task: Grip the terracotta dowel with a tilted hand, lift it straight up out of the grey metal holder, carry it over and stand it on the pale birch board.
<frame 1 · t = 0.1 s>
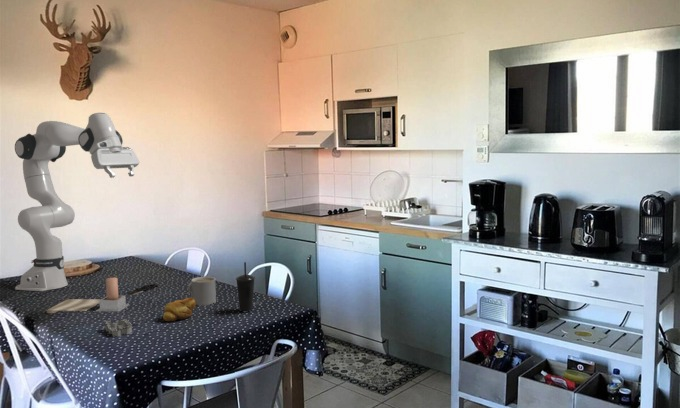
hand: (122, 176, 232), 54 cm above the table, tool tilted 30°, fingers open, 8 cm apart
board: (76, 307, 231), on the table
drinking cup: (246, 311, 225), on the table
coffee mug: (201, 301, 239), on the table
bread roll: (177, 318, 216), on the table
egg carton: (119, 332, 201), on the table
knife: (137, 293, 254), on the table
holder: (113, 309, 227), on the table
dowel: (113, 307, 227), point 1 cm above the table, touching holder
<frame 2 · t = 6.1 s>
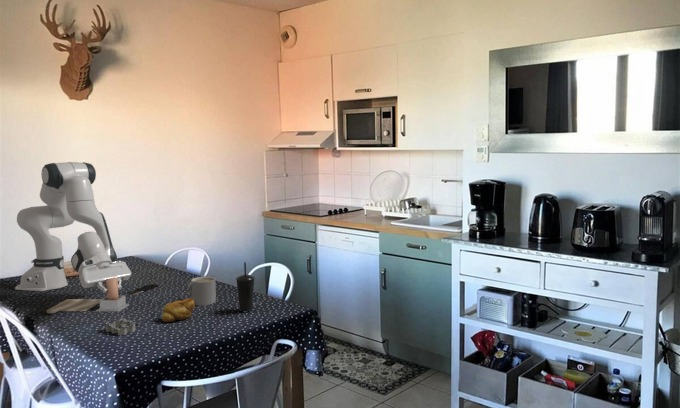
hand: (112, 290, 226), 8 cm above the table, tool tilted 45°, fingers closed on dowel, 4 cm apart
dowel: (113, 307, 227), point 1 cm above the table, touching gripper, holder
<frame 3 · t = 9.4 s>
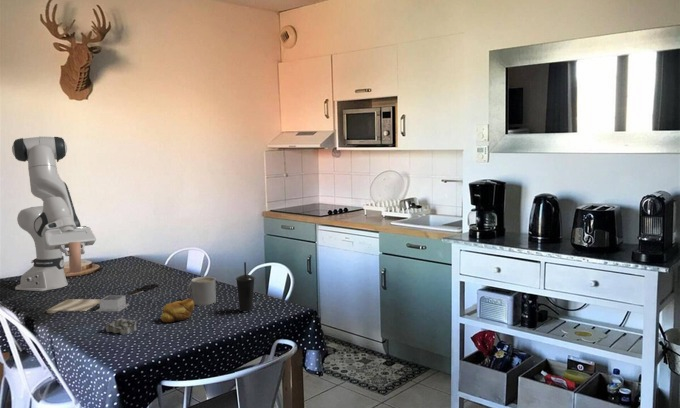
hand: (75, 254, 227), 23 cm above the table, tool tilted 45°, fingers closed on dowel, 4 cm apart
dowel: (75, 271, 228), point 16 cm above the table, touching gripper
when the fingers open (10 cm above the table, at t = 12.6 s): dowel drops 1 cm, resting on board.
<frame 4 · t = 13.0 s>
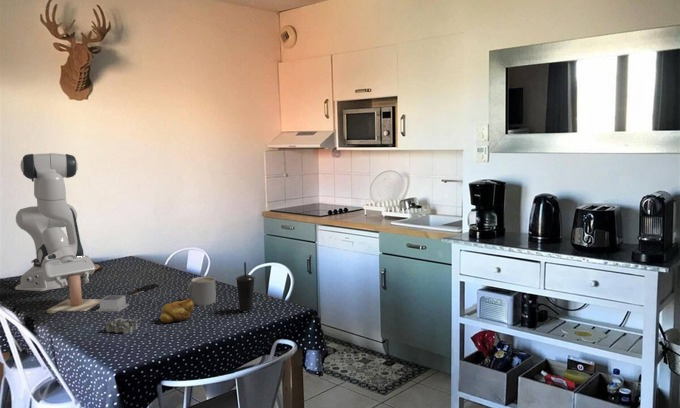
hand: (75, 284, 230), 10 cm above the table, tool tilted 45°, fingers open, 8 cm apart
dowel: (76, 304, 231), point 1 cm above the table, touching board
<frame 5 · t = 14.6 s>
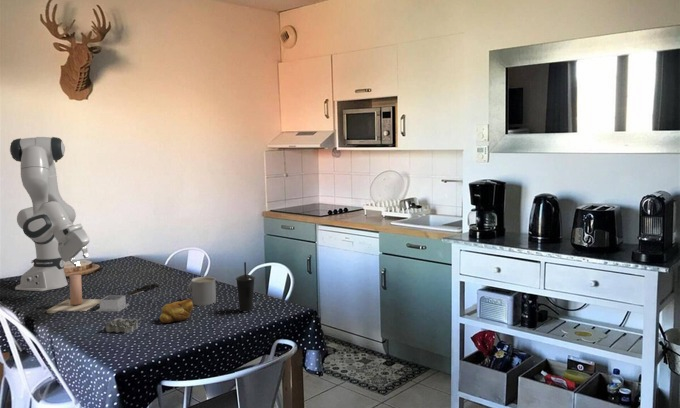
hand: (82, 261, 239), 17 cm above the table, tool tilted 35°, fingers open, 8 cm apart
dowel: (76, 303, 231), point 2 cm above the table, tilted 8°, touching board
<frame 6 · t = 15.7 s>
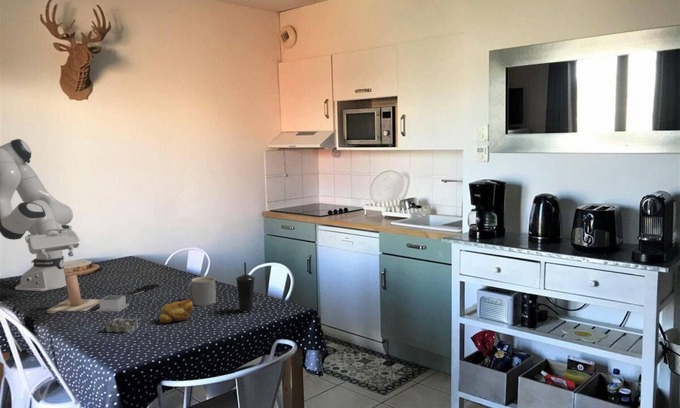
hand: (60, 257, 237), 20 cm above the table, tool tilted 45°, fingers open, 8 cm apart
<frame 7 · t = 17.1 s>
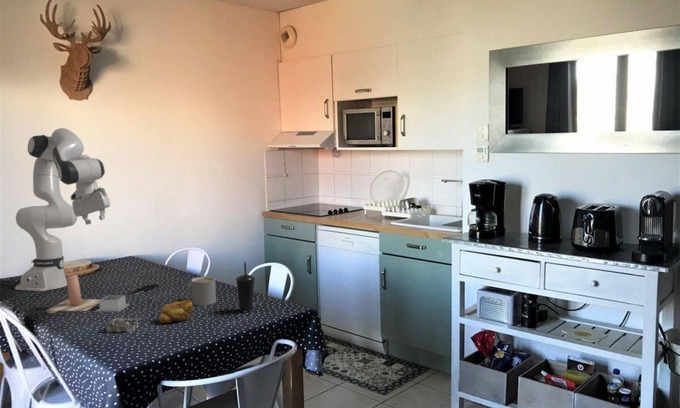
hand: (95, 221, 247), 33 cm above the table, tool tilted 15°, fingers open, 8 cm apart
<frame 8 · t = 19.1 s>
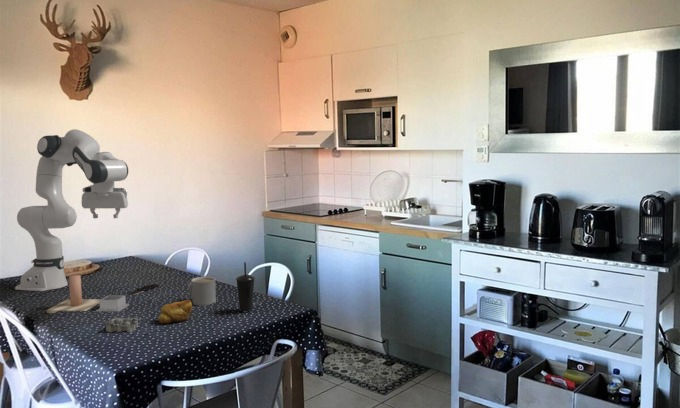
hand: (105, 218, 253), 34 cm above the table, tool pointing down, fingers open, 8 cm apart
at the end: dowel inside the target area on the board (0.1 cm from its centre), point 1.2 cm above the board's base; dowel tilted 1°; the gripper is holding nothing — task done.
